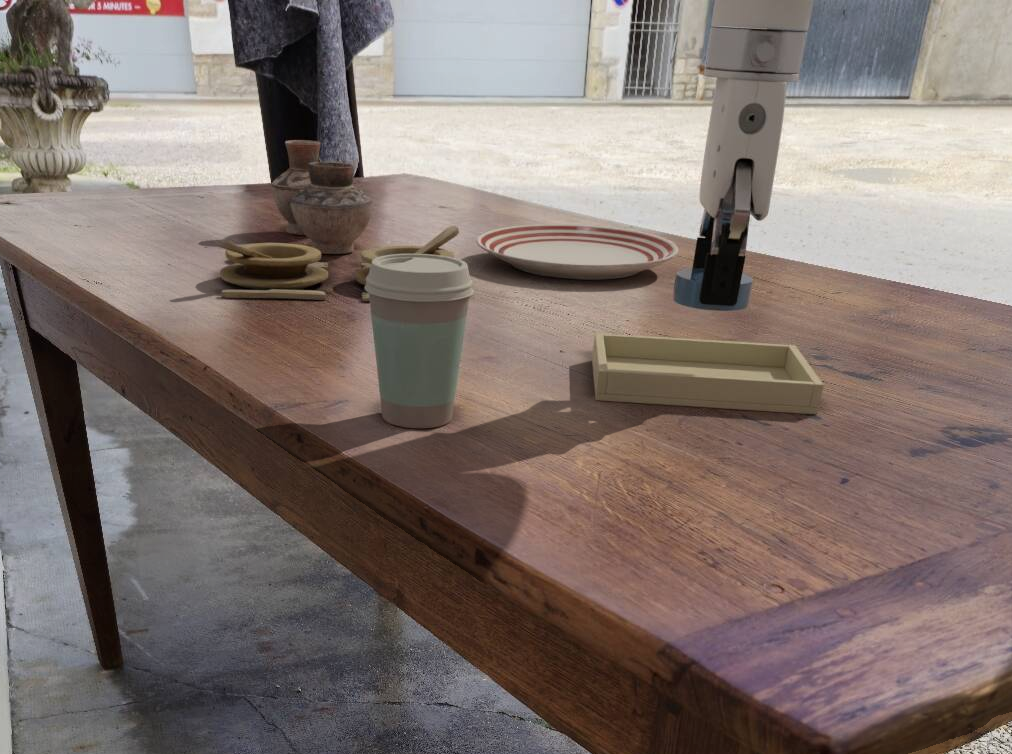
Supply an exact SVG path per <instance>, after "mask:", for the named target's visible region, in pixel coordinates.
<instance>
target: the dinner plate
mask: <svg viewBox="0 0 1012 754" xmlns="http://www.w3.org/2000/svg"><path fill="white" fill-rule="evenodd" d="M476 244H477V246H478V247H479V248H480V249H482V250H483V251H486V252H487V253H489V255H492V256H494V257H495V258H497V259H499V260H501V261H504V262H505V263H507V264H510V265H511V266H512V267H514V268H516V269H517V270H519V271H523V272H526V273H529V274H533V275H537V276H543V277H550V278H555V279H556V278H557V279H567V280H581V281H582V280H583V281H584V280H586V281H587V280H588V281H589V280H591V281H593V280H595V281H597V280H599V281H600V280H614V279H622V278H628V277H631V276H634V275H637V274H638V273H640V272H644V271H647V270H650V269H653V268H656V267H658V266H660V265H663V264H664V263H667V262H669V261H670V260H672V259H673V258H674V257H676V256H677V255H678V253H679V248H678V246H677V244H675V242H673V241H671V240H669V239H668V238H665V237H662V236H659V235H656V234H652V233H648V232H644V231H639V230H634V229H626V228H620V227H613V226H602V225H589V224H571V223H570V224H569V223H537V224H522V225H521V224H520V225H513V226H505V227H500V228H495V229H492V230H488V231H485V232H483V233H481V234H479V236H477V238H476Z"/></svg>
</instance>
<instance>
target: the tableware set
mask: <svg viewBox="0 0 1012 754" xmlns="http://www.w3.org/2000/svg"><path fill="white" fill-rule="evenodd" d="M459 234H460V230H459V227H458V226H456V225H452V226H448V227H447V228H445V229H444V230H443V231H441V232H440V233H439V234H438V235H436V236H435V237H433V238H432V239H431V240H430V241H428V242H427V243H425V245H423V246H422V245H388V246H380V247H373V248H369V249H365V250H363V251H362V252H361V253H360V258H361V260H362V261H364V262H361V263H360V268H359V269H357V270H356V271H355V272H354V279H355V281H356V282H357V283H358V284H361V285H363V286H365V285H366V277H367V276H368V275H369V270H370V266H371V262H372V260H373V259H375V258H377V257H381V256H386V255H393V254H431V255H440V256H447V257H452V258H455V254H454V252H452V251H450V250H448V249H445V248H442V246H443V245H445V244H446V243H448V242H450V241H451V240H452V239H455V237H457V236H458V235H459ZM219 247H220V248H221V249H224V250H225V251H224V252H225V253H224V254H225V257H226V259H227V260H228V261H231V262H233V264H228V265H227V266H224V267H222V268H221V269H220V270H219V276H220V278H221V280H223V281H225V282H227V283H230V284H233V285H236V286H238V287H242V288H247V289H222V290H221V291H220V292H221V297H222V298H225V299H287V300H288V299H289V300H290V299H291V300H309V301H310V300H313V301H325V300H326V298H327V296H326V295H327V294H326V292H325V291H322V290H310V289H306V288H310V287H312V286H314V285H317V284H320V283H323V282H325V281H327V279H328V278H329V271H328V267H329V262H323V261H322V262H321V261H320V260H321V259H322V253H321V252H320V251H319V250H318V249H316V248H313V247H312V246H309V245H304V244H297V243H285V242H256V243H245V244H240V245H238V244H235V243H233V242H229V241H224V240H221V241H220V242H219ZM440 247H441V248H440ZM305 289H306V290H305ZM361 300H362V302H370V299H369V292H367V291H366V292H365V291H364V292H362V293H361Z"/></svg>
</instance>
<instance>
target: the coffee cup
mask: <svg viewBox="0 0 1012 754" xmlns="http://www.w3.org/2000/svg"><path fill="white" fill-rule="evenodd" d="M473 284H474V283H473V280H472V279H471V276H470V270H469V265H468V263H467V262H466V261H464V260H462V259H459V258H456V257H454V258H452V257H447V256H440V255H431V254H393V255H386V256H381V257H377V258H375V259H373V260H372V262H371V266H370V270H369V275H368V276H367V277H366V285H364V291H366V292H369V299H370V301H369V305H370V306H369V307H370V309H369V310H370V317H371V326H372V335H373V345H374V353H375V361H376V362H375V363H376V370H377V372H376V373H377V380H378V389H379V399H380V408H381V415H382V418H383V420H384V421H385V422H386V423H388V424H390V425H393V426H396V427H400V428H406V429H417V430H419V429H421V430H422V429H433V428H439V427H442V426H445V425H447V424H448V423H450V422H451V421H452V418H453V411H454V405H455V398H456V391H457V384H458V379H459V371H460V364H461V358H462V351H463V344H464V338H465V331H466V324H467V317H468V310H469V303H470V298H471V297H470V296H472V295H473V294H474V292H475V290H474V289H473Z"/></svg>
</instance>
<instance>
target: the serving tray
mask: <svg viewBox="0 0 1012 754" xmlns="http://www.w3.org/2000/svg"><path fill="white" fill-rule="evenodd" d="M591 355H592V357H591V363H592V365H591V366H592V375H593V386H594V396H595V401H599V402H600V401H601V402H619V403H630V404H631V403H632V404H633V403H634V404H649V405H661V406H662V405H663V406H664V405H665V406H677V407H679V406H680V407H693V408H695V407H696V408H711V409H726V410H742V411H756V412H757V411H758V412H772V413H773V412H774V413H786V414H787V413H788V414H804V415H805V414H806V415H818V411H819V406H820V403H821V399H822V394H823V390H824V387H825V385H824V383H823V382H822V380H821V379H820V377H819V376H818V375H817V373H816V372H815V371H814V368H812V367H811V365H810V363H808V361H807V360H806V358H805V357H804V355H803V354H802V352H801V351H800V350H799V349H798V347H797V346H796V345H795V344H782V343H781V344H779V343H763V342H748V341H731V340H716V339H715V340H714V339H700V338H699V339H697V338H683V337H682V338H681V337H667V336H666V337H665V336H648V335H634V334H633V335H632V334H618V333H602V332H601V333H600V332H595V333H594V338H593V347H592V354H591Z"/></svg>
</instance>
